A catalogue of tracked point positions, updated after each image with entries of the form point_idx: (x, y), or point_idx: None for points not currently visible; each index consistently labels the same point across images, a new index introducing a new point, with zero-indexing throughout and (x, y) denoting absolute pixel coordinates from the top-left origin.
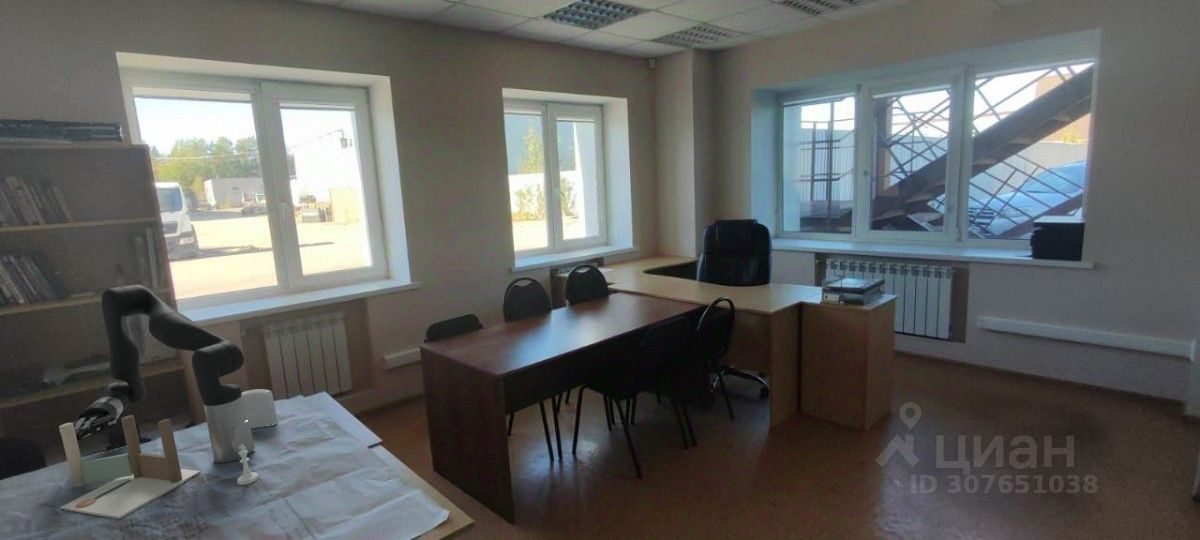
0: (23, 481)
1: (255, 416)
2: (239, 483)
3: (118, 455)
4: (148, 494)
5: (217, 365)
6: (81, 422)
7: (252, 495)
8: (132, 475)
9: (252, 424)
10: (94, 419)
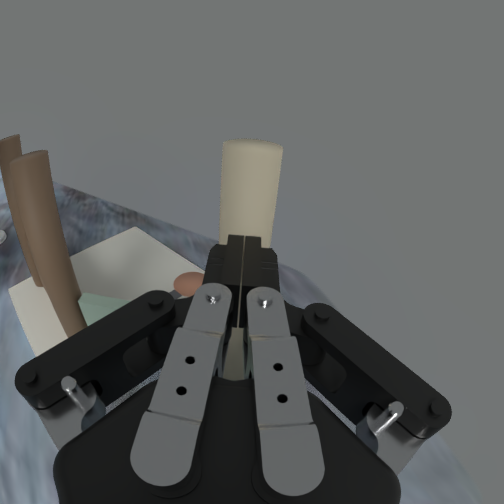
0: (451, 493)
1: None
2: (5, 235)
3: (104, 304)
4: (90, 259)
5: None
6: (263, 369)
7: None
8: None
9: None
10: (154, 399)
